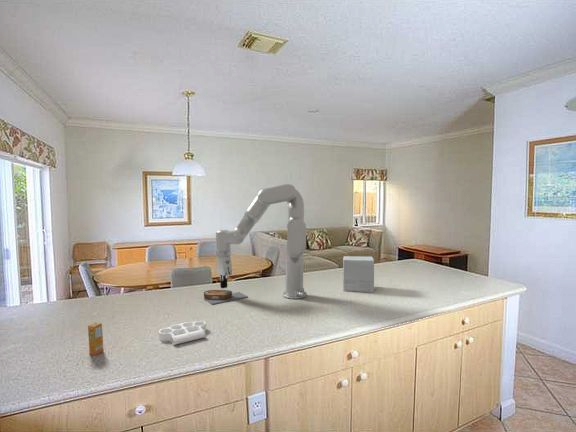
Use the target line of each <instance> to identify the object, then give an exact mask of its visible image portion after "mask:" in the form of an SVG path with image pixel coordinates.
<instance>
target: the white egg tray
mask: <svg viewBox="0 0 576 432" xmlns="http://www.w3.org/2000/svg"><path fill="white" fill-rule="evenodd" d="M206 332H207V322H206V321H205V320H195V321H185V322H182V323H175V324H172V325H170V326H168V327H164V328H160V329H159V331H158V341H160V342H170V343H171V345H173V346H176V345H179V344H183V343H184V344H185V343H188V342H192V341H196V340H200V339H204V338H206Z"/></svg>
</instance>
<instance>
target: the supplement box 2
mask: <svg viewBox="0 0 576 432" xmlns="http://www.w3.org/2000/svg"><path fill="white" fill-rule="evenodd" d="M342 262H343V263H342V267H343V268H342V290H343V292H361V293H362V292H365V293H366V292H367V293H374V292H375V260H374V257H373V256H363V255H362V256H356V255H354V256H353V255H352V256H351V255H348V256H347V255H344V256H343V258H342Z"/></svg>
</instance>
